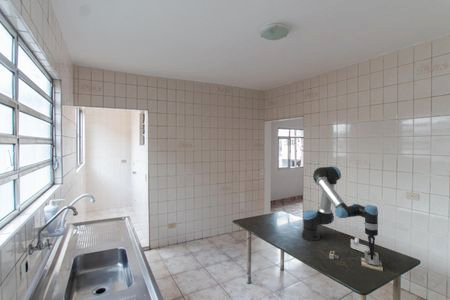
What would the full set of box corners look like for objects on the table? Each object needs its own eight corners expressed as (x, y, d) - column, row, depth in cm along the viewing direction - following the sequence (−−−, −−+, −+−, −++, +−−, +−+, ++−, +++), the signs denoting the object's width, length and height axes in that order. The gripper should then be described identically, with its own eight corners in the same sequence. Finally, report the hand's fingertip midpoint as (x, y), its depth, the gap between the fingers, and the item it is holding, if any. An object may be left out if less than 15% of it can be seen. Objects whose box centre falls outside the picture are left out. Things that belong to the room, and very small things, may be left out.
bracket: (350, 248, 188) (350, 239, 188) (355, 246, 192) (355, 237, 192) (367, 255, 177) (367, 245, 177) (372, 252, 181) (372, 242, 181)
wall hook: (333, 256, 176) (333, 254, 176) (338, 257, 175) (338, 255, 174) (332, 257, 174) (332, 255, 174) (338, 258, 172) (338, 256, 172)
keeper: (361, 258, 172) (361, 249, 171) (381, 262, 166) (381, 252, 166) (361, 266, 161) (361, 256, 161) (382, 271, 155) (382, 260, 155)
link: (364, 257, 169) (364, 250, 169) (377, 259, 165) (377, 252, 165) (364, 262, 162) (364, 255, 162) (378, 265, 158) (378, 258, 158)
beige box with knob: (330, 254, 179) (330, 249, 179) (334, 255, 178) (334, 250, 177) (329, 258, 174) (329, 253, 174) (333, 259, 172) (333, 254, 172)
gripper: (364, 222, 173) (364, 253, 174) (365, 232, 155) (365, 266, 156) (376, 224, 170) (376, 255, 171) (379, 234, 152) (379, 269, 153)
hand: (371, 260), depth 163 cm, fingers closed on link, 8 cm apart
